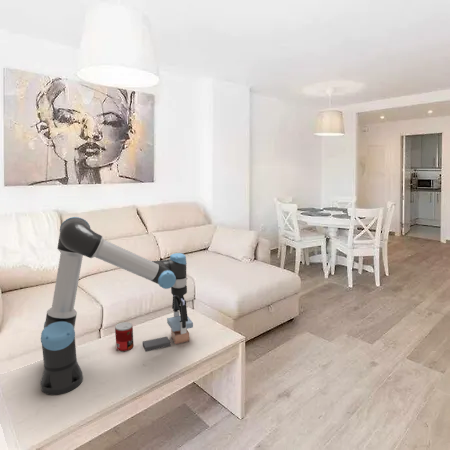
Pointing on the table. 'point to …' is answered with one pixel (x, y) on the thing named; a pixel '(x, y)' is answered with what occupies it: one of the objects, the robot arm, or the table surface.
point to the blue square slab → (178, 323)
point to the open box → (179, 336)
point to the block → (156, 343)
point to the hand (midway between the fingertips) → (180, 328)
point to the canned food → (124, 336)
